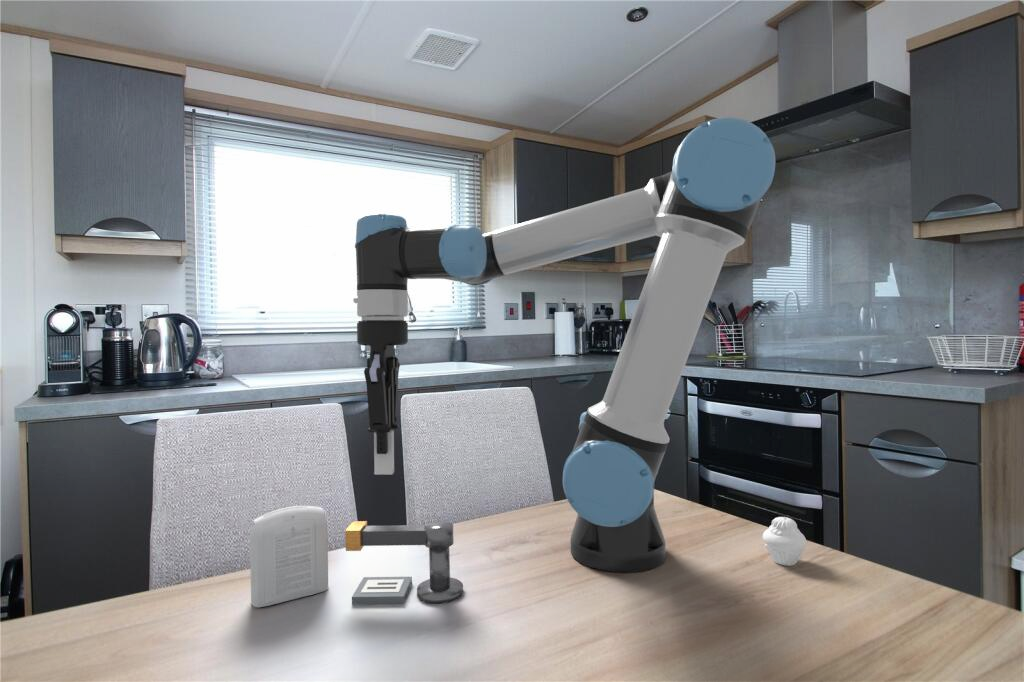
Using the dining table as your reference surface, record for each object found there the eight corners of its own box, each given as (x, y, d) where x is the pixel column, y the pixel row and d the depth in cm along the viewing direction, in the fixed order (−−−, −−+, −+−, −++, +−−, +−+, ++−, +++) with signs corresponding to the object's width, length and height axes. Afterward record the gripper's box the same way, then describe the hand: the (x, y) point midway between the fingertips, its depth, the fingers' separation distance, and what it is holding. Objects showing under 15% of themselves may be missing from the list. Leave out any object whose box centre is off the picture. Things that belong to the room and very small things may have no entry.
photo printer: (324, 580, 85) (322, 497, 84) (332, 591, 81) (330, 505, 81) (248, 599, 79) (245, 511, 79) (254, 612, 75) (251, 519, 75)
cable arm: (455, 539, 82) (454, 519, 82) (451, 550, 78) (451, 529, 78) (353, 540, 82) (353, 520, 82) (345, 551, 78) (344, 531, 78)
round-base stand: (465, 582, 83) (464, 537, 83) (460, 603, 77) (459, 555, 77) (421, 582, 83) (420, 537, 83) (413, 604, 77) (412, 555, 77)
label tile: (412, 583, 83) (411, 575, 83) (403, 603, 77) (403, 595, 77) (363, 583, 83) (363, 576, 83) (351, 604, 77) (351, 595, 77)
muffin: (793, 552, 92) (793, 509, 91) (815, 569, 85) (815, 523, 85) (755, 554, 91) (755, 510, 91) (774, 570, 85) (774, 524, 85)
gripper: (368, 319, 93) (370, 462, 94) (344, 319, 80) (347, 485, 81) (414, 319, 93) (416, 462, 94) (398, 318, 80) (400, 485, 81)
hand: (384, 473), depth 88 cm, fingers closed
